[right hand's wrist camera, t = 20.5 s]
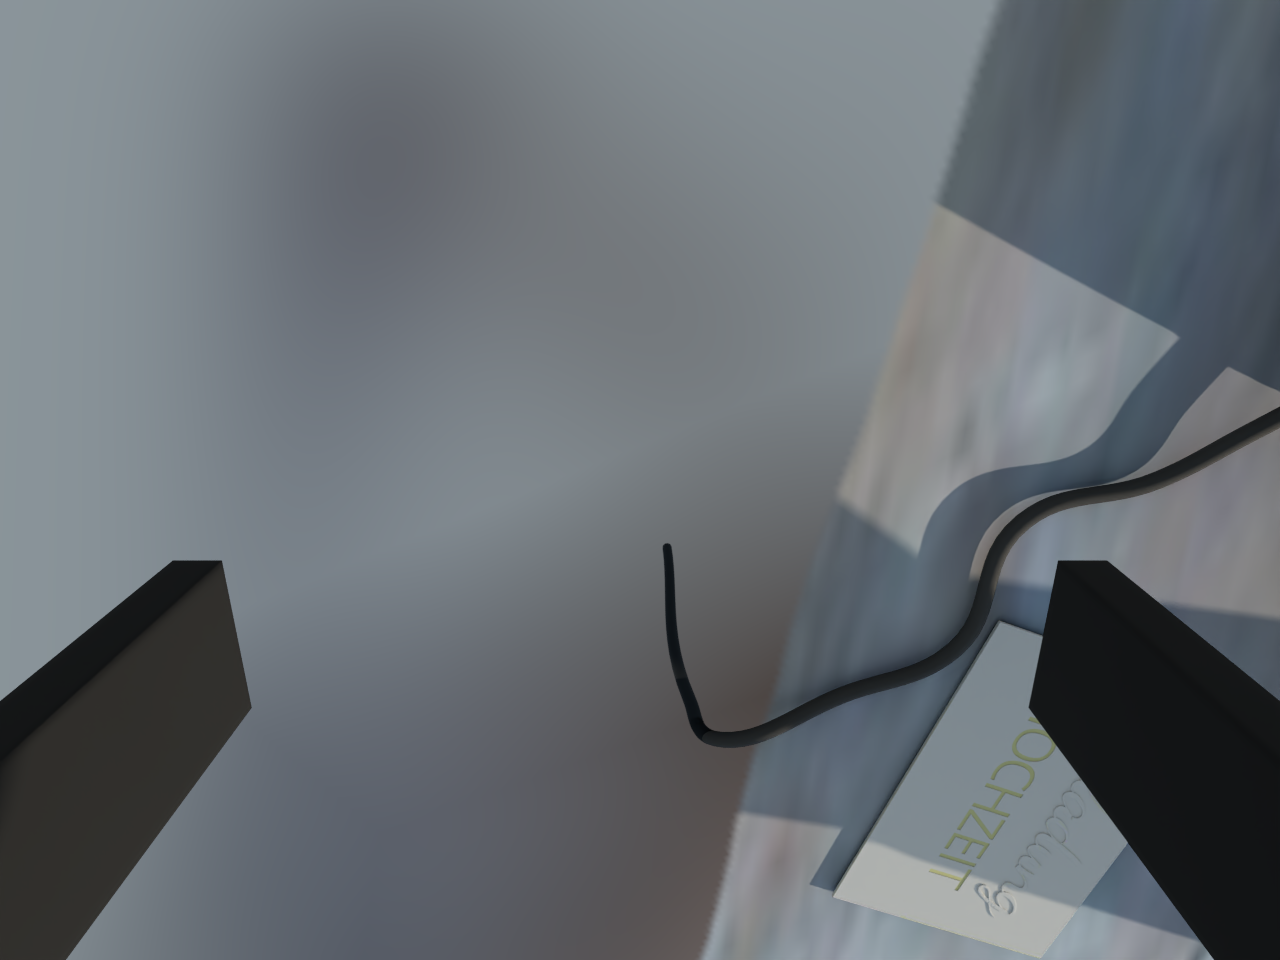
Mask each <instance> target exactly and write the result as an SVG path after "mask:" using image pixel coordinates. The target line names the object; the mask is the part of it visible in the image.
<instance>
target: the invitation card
mask: <svg viewBox="0 0 1280 960" xmlns="http://www.w3.org/2000/svg"><path fill="white" fill-rule="evenodd" d="M1042 638H1043V636H1042V635H1039V634H1036V633H1034V632H1031V631H1028V630H1025V629H1022V628H1019V627H1017V626H1014V625H1011V624H1008V623H1005V622H1002V621H998V622H997V624H996V626H995V627H994V629H993V631H992V632H991V634H990V636H989V637H988V639H987V640H986V642H985V644H984V645H983V647H982V649H981V650H980V652H979V654H978V655H977V657H976V659H975V660H974V662H973V663H972V665H971V667H970V668H969V670H968V672H967V673H966V675H965V677H964V678H963V680H962V682H961V683H960V685H959V686H958V688H957V690H956V691H955V693H954V695H953V696H952V698H951V700H950V701H949V703H948V705H947V706H946V708H945V709H944V711H943V713H942V714H941V716H940V718H939V719H938V721H937V723H936V724H935V726H934V728H933V729H932V731H931V733H930V734H929V736H928V737H927V739H926V741H925V742H924V744H923V746H922V747H921V749H920V751H919V752H918V754H917V756H916V757H915V759H914V760H913V762H912V764H911V765H910V767H909V769H908V770H907V772H906V774H905V775H904V777H903V779H902V780H901V782H900V783H899V785H898V787H897V788H896V790H895V792H894V793H893V795H892V797H891V798H890V800H889V802H888V803H887V805H886V806H885V808H884V810H883V811H882V813H881V815H880V816H879V818H878V820H877V821H876V823H875V825H874V826H873V828H872V829H871V831H870V833H869V834H868V836H867V838H866V839H865V841H864V843H863V844H862V846H861V848H860V849H859V851H858V853H857V854H856V856H855V857H854V859H853V861H852V862H851V864H850V866H849V867H848V869H847V871H846V872H845V874H844V876H843V877H842V879H841V880H840V882H839V884H838V885H837V887H836V889H835V890H834V892H833V894H832V896H833V897H834V898H837V899H841V900H844V901H848V902H851V903H854V904H858V905H861V906H864V907H868V908H871V909H875V910H878V911H881V912H885V913H888V914H891V915H895V916H898V917H901V918H905V919H908V920H912V921H915V922H918V923H922V924H925V925H928V926H932V927H935V928H939V929H942V930H945V931H949V932H952V933H955V934H959V935H962V936H965V937H969V938H972V939H976V940H979V941H982V942H986V943H989V944H992V945H996V946H999V947H1003V948H1006V949H1009V950H1013V951H1016V952H1019V953H1023V954H1026V955H1029V956H1033V957H1036V958H1041V957H1042V956H1043V954H1044V953H1045V952H1046V950H1047V949H1048V948H1049V947H1050V945H1051V944H1052V943H1053V941H1054V940H1055V939H1056V937H1057V936H1058V935H1059V933H1060V932H1061V931H1062V929H1063V928H1064V927H1065V925H1066V924H1067V923H1068V921H1069V920H1070V919H1071V917H1072V916H1073V915H1074V913H1075V912H1076V911H1077V910H1078V908H1079V907H1080V906H1081V904H1082V903H1083V902H1084V900H1085V899H1086V898H1087V896H1088V895H1089V894H1090V892H1091V891H1092V890H1093V888H1094V887H1095V886H1096V884H1097V883H1098V882H1099V880H1100V879H1101V878H1102V876H1103V875H1104V874H1105V873H1106V871H1107V870H1108V869H1109V867H1110V866H1111V865H1112V863H1113V862H1114V861H1115V859H1116V858H1117V857H1118V855H1119V854H1120V853H1121V851H1122V850H1123V849H1124V847H1125V846H1126V845H1127V843H1128V842H1127V841H1126V839H1125V838H1124V837H1123V835H1122V834H1121V833H1120V831H1119V830H1118V829H1117V827H1116V826H1115V825H1114V823H1113V822H1112V820H1111V819H1110V818H1109V816H1108V815H1107V814H1106V812H1105V811H1104V810H1103V808H1102V807H1101V806H1100V804H1099V803H1098V801H1097V800H1096V799H1095V797H1094V796H1093V795H1092V793H1091V792H1090V791H1089V789H1088V788H1087V787H1086V785H1085V784H1084V782H1083V781H1082V780H1081V778H1080V777H1079V776H1078V774H1077V773H1076V772H1075V770H1074V769H1073V768H1072V766H1071V765H1070V763H1069V762H1068V761H1067V759H1066V758H1065V757H1064V755H1063V754H1062V753H1061V751H1060V750H1059V749H1058V747H1057V746H1056V744H1055V743H1054V742H1053V740H1052V739H1051V738H1050V736H1049V735H1048V734H1047V732H1046V731H1045V730H1044V728H1043V727H1042V725H1041V724H1040V723H1039V721H1038V720H1037V719H1036V717H1035V716H1034V715H1033V713H1032V712H1031V711H1030V709H1029V708H1028V707H1029V702H1030V697H1031V692H1032V688H1033V683H1034V678H1035V673H1036V668H1037V663H1038V658H1039V653H1040V648H1041V643H1042Z"/></svg>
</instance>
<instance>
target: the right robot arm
mask: <svg viewBox="0 0 1280 960" xmlns="http://www.w3.org/2000/svg"><path fill="white" fill-rule="evenodd" d="M1278 428H1280V407H1278V408H1276V409H1274V410H1273V411H1271V412H1269V413H1267V414H1265V415H1263V416H1261V417H1259V418H1257V419H1256V420H1254V421H1252V422H1250V423H1248V424H1246V425H1244V426H1242V427H1240V428H1238V429H1237V430H1235V431H1233V432H1231V433H1229V434H1227V435H1226V436H1224V437H1222V438H1220V439H1218V440H1217V441H1215V442H1213V443H1211V444H1209V445H1208V446H1206V447H1204V448H1202V449H1200V450H1199V451H1197V452H1195V453H1193V454H1191V455H1189V456H1188V457H1186V458H1184V459H1182V460H1180V461H1178V462H1176V463H1174V464H1171V465H1169V466H1167V467H1165V468H1163V469H1160V470H1158V471H1156V472H1153V473H1151V474H1148V475H1145V476H1143V477H1140V478H1136V479H1133V480H1129V481H1124V482H1120V483H1115V484H1109V485H1102V486H1096V487H1089V488H1082V489H1077V490H1071V491H1067V492H1063V493H1059V494H1056V495H1053V496H1050V497H1048V498H1045V499H1043V500H1041V501H1039V502H1037V503H1035V504H1033V505H1031V506H1030V507H1028V508H1027V509H1025V510H1024V511H1022V512H1021V513H1020V514H1018V515H1017V516H1016V517H1015V518H1014V519H1013V520H1012V521H1010V522H1009V523H1008V524H1007V525H1006V526H1005V527H1004V529H1003V530H1002V531H1001V533H1000V534H999V535H998V536H997V538H996V539H995V541H994V543H993V545H992V546H991V548H990V550H989V553H988V555H987V558H986V560H985V563H984V566H983V570H982V573H981V577H980V581H979V585H978V589H977V593H976V597H975V600H974V604H973V607H972V609H971V612H970V615H969V617H968V619H967V621H966V623H965V625H964V626H963V627H962V629H961V630H960V632H959V633H958V634H957V635H956V636H955V637H954V638H953V640H952V641H951V642H950V643H948V644H947V645H946V646H945V647H943V648H942V649H941V650H940V651H938V652H937V653H935V654H934V655H932V656H930V657H928V658H927V659H925V660H923V661H920V662H918V663H916V664H913V665H911V666H908V667H905V668H902V669H899V670H896V671H892V672H889V673H885V674H881V675H877V676H874V677H870V678H867V679H863V680H860V681H857V682H854V683H850V684H848V685H845V686H842V687H840V688H837V689H835V690H832V691H830V692H828V693H825V694H823V695H821V696H819V697H817V698H815V699H813V700H811V701H809V702H807V703H805V704H803V705H801V706H799V707H797V708H795V709H793V710H792V711H790V712H788V713H786V714H784V715H782V716H780V717H778V718H776V719H774V720H771V721H769V722H767V723H765V724H762V725H760V726H757V727H754V728H751V729H747V730H743V731H736V732H718V731H714V730H711V729H710V728H708V727H707V726H706V725H705V723H704V721H703V718H702V715H701V712H700V708H699V705H698V702H697V700H696V697H695V694H694V692H693V690H692V687H691V684H690V682H689V679H688V676H687V673H686V670H685V666H684V662H683V658H682V654H681V650H680V644H679V638H678V630H677V619H676V602H675V577H674V562H673V553H672V546H671V545H670V544H669V543H665V544H664V545H663V557H664V575H665V619H666V634H667V643H668V650H669V655H670V660H671V665H672V669H673V673H674V676H675V680H676V683H677V686H678V689H679V692H680V695H681V697H682V700H683V703H684V705H685V709H686V713H687V717H688V720H689V724H690V726H691V728H692V730H693V732H694V734H695V735H696V736H697V738H698V739H700V740H701V741H702V742H704V743H706V744H709V745H712V746H716V747H723V748H736V747H745V746H749V745H754V744H757V743H760V742H763V741H766V740H768V739H771V738H773V737H776V736H778V735H780V734H782V733H784V732H786V731H788V730H790V729H792V728H794V727H796V726H798V725H800V724H802V723H804V722H806V721H807V720H809V719H811V718H813V717H815V716H817V715H819V714H821V713H823V712H825V711H827V710H830V709H832V708H834V707H836V706H839V705H841V704H843V703H846V702H848V701H851V700H854V699H857V698H860V697H863V696H866V695H870V694H873V693H877V692H880V691H884V690H888V689H892V688H895V687H899V686H902V685H906V684H909V683H912V682H915V681H918V680H920V679H923V678H925V677H927V676H930V675H932V674H934V673H936V672H937V671H939V670H941V669H943V668H944V667H946V666H947V665H949V664H950V663H952V662H953V661H954V660H956V659H957V658H958V657H959V656H961V655H962V654H963V653H964V652H965V651H966V650H967V649H968V648H969V647H970V646H971V645H972V643H973V642H974V640H975V639H976V638H977V636H978V635H979V633H980V631H981V630H982V628H983V626H984V624H985V622H986V619H987V616H988V614H989V611H990V608H991V604H992V601H993V597H994V593H995V589H996V586H997V582H998V578H999V575H1000V572H1001V568H1002V566H1003V563H1004V561H1005V559H1006V556H1007V555H1008V553H1009V551H1010V549H1011V548H1012V546H1013V545H1014V544H1015V542H1016V541H1017V540H1018V539H1019V537H1020V536H1021V535H1023V534H1024V533H1025V532H1026V531H1027V530H1028V529H1029V528H1030V527H1032V526H1033V525H1034V524H1036V523H1037V522H1039V521H1040V520H1042V519H1044V518H1046V517H1047V516H1049V515H1052V514H1054V513H1057V512H1059V511H1062V510H1065V509H1069V508H1073V507H1077V506H1083V505H1088V504H1095V503H1102V502H1109V501H1115V500H1121V499H1126V498H1131V497H1135V496H1139V495H1143V494H1146V493H1149V492H1152V491H1155V490H1158V489H1160V488H1163V487H1165V486H1168V485H1170V484H1173V483H1175V482H1177V481H1179V480H1181V479H1184V478H1186V477H1188V476H1190V475H1192V474H1194V473H1196V472H1198V471H1200V470H1202V469H1204V468H1205V467H1207V466H1209V465H1211V464H1213V463H1215V462H1217V461H1218V460H1220V459H1222V458H1224V457H1226V456H1227V455H1229V454H1231V453H1233V452H1235V451H1237V450H1238V449H1240V448H1242V447H1244V446H1246V445H1248V444H1250V443H1251V442H1253V441H1255V440H1257V439H1259V438H1261V437H1263V436H1265V435H1267V434H1269V433H1271V432H1273V431H1275V430H1277V429H1278ZM1028 708H1029V709H1030V711H1031V712H1032V713H1033V715H1034V716H1035V717H1036V719H1037V720H1038V721H1039V723H1040V724H1041V725H1042V727H1043V728H1044V730H1045V731H1046V732H1047V734H1048V735H1049V736H1050V738H1051V739H1052V740H1053V742H1054V743H1055V744H1056V746H1057V747H1058V749H1059V750H1060V751H1061V753H1062V754H1063V755H1064V757H1065V758H1066V759H1067V761H1068V762H1069V763H1070V765H1071V766H1072V768H1073V769H1074V770H1075V772H1076V773H1077V774H1078V776H1079V777H1080V778H1081V780H1082V781H1083V782H1084V784H1085V785H1086V787H1087V788H1088V789H1089V791H1090V792H1091V793H1092V795H1093V796H1094V797H1095V799H1096V800H1097V801H1098V803H1099V804H1100V806H1101V807H1102V808H1103V810H1104V811H1105V812H1106V814H1107V815H1108V816H1109V818H1110V819H1111V820H1112V822H1113V823H1114V825H1115V826H1116V827H1117V829H1118V830H1119V831H1120V833H1121V834H1122V835H1123V837H1124V838H1125V839H1126V841H1127V842H1128V844H1129V845H1130V846H1131V848H1132V849H1133V850H1134V852H1135V853H1136V854H1137V856H1138V857H1139V858H1140V860H1141V861H1142V863H1143V864H1144V865H1145V867H1146V868H1147V869H1148V871H1149V872H1150V873H1151V875H1152V876H1153V877H1154V879H1155V880H1156V882H1157V883H1158V884H1159V886H1160V887H1161V888H1162V890H1163V891H1164V892H1165V894H1166V895H1167V896H1168V898H1169V899H1170V901H1171V902H1172V903H1173V905H1174V906H1175V907H1176V909H1177V910H1178V911H1179V913H1180V914H1181V915H1182V917H1183V918H1184V920H1185V921H1186V922H1187V924H1188V925H1189V926H1190V928H1191V929H1192V930H1193V932H1194V933H1195V934H1196V936H1197V937H1198V939H1199V940H1200V941H1201V943H1202V944H1203V945H1204V947H1205V948H1206V949H1207V951H1208V952H1209V953H1210V955H1211V956H1212V958H1213V959H1214V960H1280V701H1279V700H1278V699H1277V698H1275V697H1274V696H1273V695H1272V694H1270V693H1269V692H1268V691H1267V690H1265V689H1264V688H1263V687H1262V686H1261V685H1259V684H1258V683H1257V682H1256V681H1254V680H1253V679H1252V678H1251V677H1249V676H1248V675H1247V674H1246V673H1245V672H1243V671H1242V670H1241V669H1240V668H1238V667H1237V666H1236V665H1235V664H1234V663H1232V662H1231V661H1230V660H1229V659H1227V658H1226V657H1225V656H1224V655H1222V654H1221V653H1220V652H1219V651H1218V650H1216V649H1215V648H1214V647H1213V646H1211V645H1210V644H1209V643H1208V642H1206V641H1205V640H1204V639H1203V638H1202V637H1200V636H1199V635H1198V634H1197V633H1195V632H1194V631H1193V630H1192V629H1190V628H1189V627H1188V626H1187V625H1186V624H1184V623H1183V622H1182V621H1181V620H1179V619H1178V618H1177V617H1176V616H1175V615H1173V614H1172V613H1171V612H1170V611H1168V610H1167V609H1166V608H1165V607H1163V606H1162V605H1161V604H1160V603H1159V602H1157V601H1156V600H1155V599H1154V598H1152V597H1151V596H1150V595H1149V594H1147V593H1146V592H1145V591H1144V590H1143V589H1141V588H1140V587H1139V586H1138V585H1136V584H1135V583H1134V582H1133V581H1131V580H1130V579H1129V578H1128V577H1127V576H1125V575H1124V574H1123V573H1122V572H1120V571H1119V570H1118V569H1117V568H1116V567H1114V566H1113V565H1112V564H1111V563H1109V562H1108V561H1058V564H1057V569H1056V574H1055V579H1054V584H1053V589H1052V594H1051V599H1050V604H1049V608H1048V613H1047V618H1046V623H1045V628H1044V633H1043V638H1042V643H1041V648H1040V653H1039V658H1038V663H1037V668H1036V673H1035V678H1034V683H1033V688H1032V692H1031V697H1030V702H1029V707H1028ZM250 709H251V702H250V698H249V693H248V688H247V683H246V678H245V673H244V668H243V663H242V658H241V653H240V648H239V643H238V638H237V633H236V628H235V623H234V618H233V613H232V609H231V604H230V599H229V594H228V589H227V584H226V579H225V574H224V569H223V564H222V561H172V562H171V563H169V564H168V565H167V566H166V567H165V568H163V569H162V570H161V571H160V572H158V573H157V574H156V575H155V576H153V577H152V578H151V579H150V580H149V581H147V582H146V583H145V584H144V585H142V586H141V587H140V588H139V589H137V590H136V591H135V592H134V593H133V594H131V595H130V596H129V597H128V598H126V599H125V600H124V601H123V602H122V603H120V604H119V605H118V606H117V607H115V608H114V609H113V610H112V611H110V612H109V613H108V614H107V615H105V616H104V617H103V618H102V619H101V620H99V621H98V622H97V623H96V624H94V625H93V626H92V627H91V628H90V629H88V630H87V631H86V632H85V633H83V634H82V635H81V636H80V637H78V638H77V639H76V640H75V641H74V642H72V643H71V644H70V645H69V646H67V647H66V648H65V649H64V650H62V651H61V652H60V653H59V654H58V655H56V656H55V657H54V658H53V659H51V660H50V661H49V662H48V663H47V664H45V665H44V666H43V667H42V668H40V669H39V670H38V671H37V672H35V673H34V674H33V675H32V676H31V677H29V678H28V679H27V680H26V681H24V682H23V683H22V684H21V685H19V686H18V687H17V688H16V689H15V690H13V691H12V692H11V693H10V694H8V695H7V696H6V697H5V698H3V699H2V700H1V701H0V960H66V959H67V958H68V956H69V955H70V953H71V952H72V951H73V949H74V948H75V947H76V945H77V944H78V943H79V941H80V940H81V938H82V937H83V936H84V934H85V933H86V932H87V930H88V929H89V928H90V926H91V925H92V924H93V922H94V921H95V919H96V918H97V917H98V915H99V914H100V913H101V911H102V910H103V909H104V907H105V906H106V905H107V903H108V902H109V900H110V899H111V898H112V896H113V895H114V894H115V892H116V891H117V890H118V888H119V887H120V886H121V884H122V883H123V881H124V880H125V879H126V877H127V876H128V875H129V873H130V872H131V871H132V869H133V868H134V866H135V865H136V864H137V863H138V861H139V860H140V858H141V857H142V856H143V854H144V853H145V852H146V850H147V849H148V848H149V846H150V845H151V843H152V842H153V841H154V839H155V838H156V837H157V835H158V834H159V833H160V831H161V830H162V829H163V827H164V826H165V824H166V823H167V822H168V820H169V819H170V818H171V816H172V815H173V814H174V812H175V811H176V810H177V808H178V807H179V806H180V804H181V803H182V801H183V800H184V799H185V797H186V796H187V795H188V793H189V792H190V791H191V789H192V788H193V787H194V785H195V784H196V782H197V781H198V780H199V778H200V777H201V776H202V774H203V773H204V772H205V770H206V769H207V767H208V766H209V765H210V763H211V762H212V761H213V759H214V758H215V757H216V755H217V754H218V753H219V751H220V750H221V748H222V747H223V746H224V744H225V743H226V742H227V740H228V739H229V738H230V736H231V735H232V734H233V732H234V731H235V730H236V728H237V727H238V725H239V724H240V723H241V721H242V720H243V719H244V717H245V716H246V715H247V713H248V712H249V711H250Z"/></svg>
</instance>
